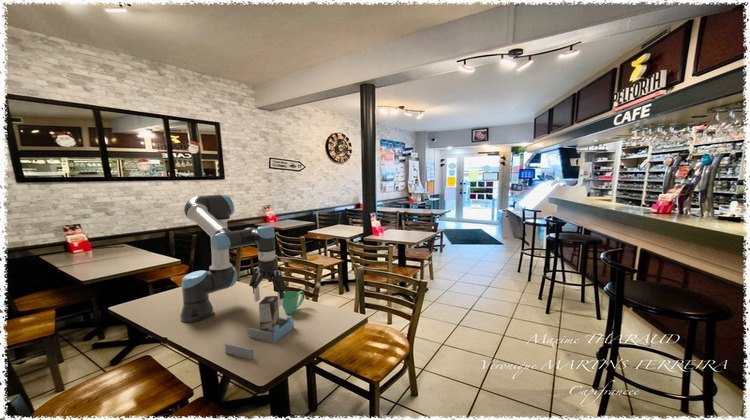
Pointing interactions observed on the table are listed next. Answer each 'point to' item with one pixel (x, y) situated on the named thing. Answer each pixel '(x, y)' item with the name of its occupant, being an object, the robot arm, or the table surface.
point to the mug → (292, 301)
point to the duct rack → (261, 338)
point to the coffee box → (269, 313)
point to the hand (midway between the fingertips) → (268, 302)
